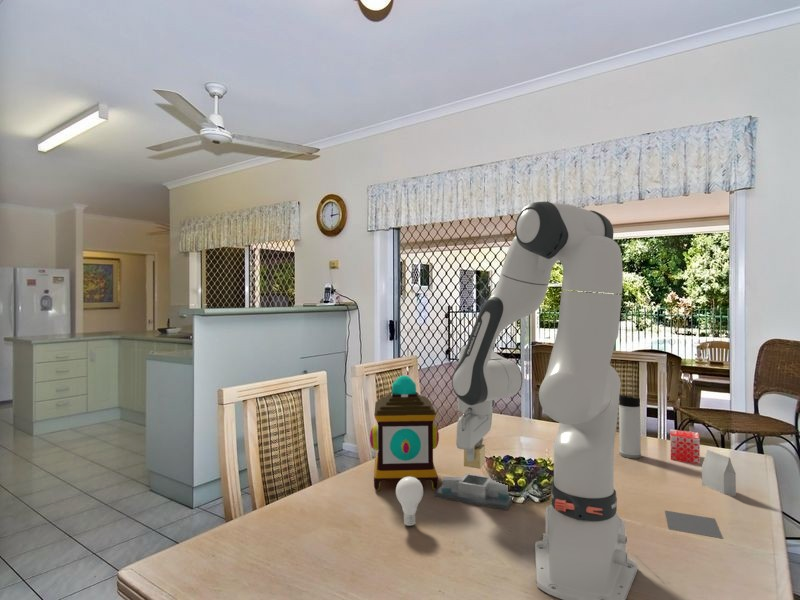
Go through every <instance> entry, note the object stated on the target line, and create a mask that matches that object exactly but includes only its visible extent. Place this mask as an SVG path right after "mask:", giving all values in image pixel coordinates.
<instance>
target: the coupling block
mask: <svg viewBox="0 0 800 600" xmlns="http://www.w3.org/2000/svg"><path fill="white" fill-rule="evenodd" d="M474 453H475V460H474V461H468V460H467V452H466V450H464V449H463V467H467V468H472V469H478V470H481V469H482V468H483V466H484V465H485V464H486V444H483V443H482V444H480V442H478V443H477V444H476V445H475V448H474Z"/></svg>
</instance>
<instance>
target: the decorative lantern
mask: <svg viewBox="0 0 800 600" xmlns="http://www.w3.org/2000/svg"><path fill="white" fill-rule="evenodd" d="M373 414H374V418H375V420H376V423H377V425H374V426H372V428H371V430H370V433H369V443H370V447H371V448H372V449H373V450H374V451H378V452H377V454H376V456H375V459H374V472H373V473H374V474H373V486H374V490H375V491H380V485H381V482H391V481H392V482H393V481H394V482H395V481H398V482H399V481H400V480H401V479H402V478H404V477H408V476H411V477H415V478H417V479H418V480H419V481H430V482H431V487H432V489H433V490H436V489H437V490H438V485H439V477H438V474H437V469H436V467H435V464H434V450H435V449H436V448H437V447H438V445H439V441H440V433H439V430H438V428H437V426H436V425H434V421H435V419H436V417H437V412H436V410H435V408H434V406H433V404H432V402H431V401H430V399H429V398H427V396H425V395H421V394H419V393H418V392H417V386H416V382H414V380H413V379H412V378H411V377H410V376H408V375H405V374H404V375H400V376H399V377H397V378H396V379H395V380H394V382H393V383H392V385H391V392H389V393H388V394H387V395H386V396H381V397H380V398H379V399H377V401H375V405H374V413H373Z"/></svg>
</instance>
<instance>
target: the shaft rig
mask: <svg viewBox="0 0 800 600" xmlns="http://www.w3.org/2000/svg"><path fill="white" fill-rule="evenodd" d="M490 477H491V476H485V475H481V474H473V473H467V472H466V473H465V474H464V475H463V477H461V476H442V484H441V485H440V487H438V488H437V490H435V492H434V497H435V498H440V499H444V500H449V501H450V500H451V501H455V502H461V503H466V504H471V505H476V506H481V507H488V508H492V509H497V510H502V511H503V510H504V511H508V510H509V509H510V506H511V505H512V503H513V502H514V499H513V500H512V497H509V493H508V485H505V484H502V483H499V482H496V481H497V480H493V478H492V479H491V478H490Z"/></svg>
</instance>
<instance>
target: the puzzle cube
mask: <svg viewBox="0 0 800 600" xmlns="http://www.w3.org/2000/svg"><path fill="white" fill-rule="evenodd" d="M669 434H670V435H669V436H670V437H669V438H670V439H669V444H670V445H669V447H670V450H669V451H670V452H669V453H670V460H671V461H679V462H685V463H690V464H691V463H692V464H698V465H699V464H701V462H700V461H701V460H700V459H701V458H700V457H701V453H700V451H701V449H700V448H701V445H700V443H701V442H700V440H701V438H700V436H699V435H700V434H699V432H697V431H690V430H689V431H688V430H680V429H679V430H678V429H669Z"/></svg>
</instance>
